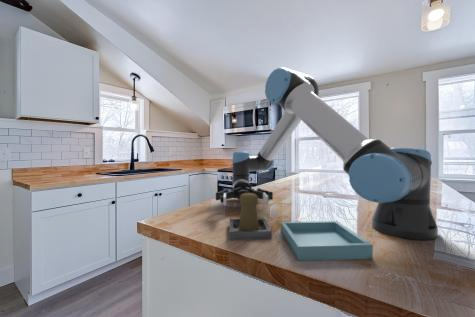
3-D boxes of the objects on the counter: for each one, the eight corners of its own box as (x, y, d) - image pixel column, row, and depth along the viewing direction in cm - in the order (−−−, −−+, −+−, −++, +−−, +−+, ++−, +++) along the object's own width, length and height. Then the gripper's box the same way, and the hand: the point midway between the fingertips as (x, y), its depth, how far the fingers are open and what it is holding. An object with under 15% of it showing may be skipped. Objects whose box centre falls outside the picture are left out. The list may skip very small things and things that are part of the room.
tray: (336, 231, 64) (336, 220, 64) (372, 258, 48) (372, 244, 48) (280, 232, 63) (280, 222, 63) (298, 260, 47) (298, 246, 47)
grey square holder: (264, 224, 70) (264, 218, 70) (271, 238, 59) (271, 231, 59) (229, 225, 69) (229, 219, 69) (229, 239, 58) (229, 232, 58)
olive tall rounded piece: (258, 236, 61) (258, 195, 60) (236, 234, 62) (236, 195, 61) (260, 228, 67) (260, 191, 66) (240, 227, 68) (240, 191, 67)
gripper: (272, 197, 94) (284, 212, 72) (212, 198, 93) (206, 213, 72) (272, 180, 93) (284, 189, 72) (211, 180, 92) (206, 190, 71)
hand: (245, 201), depth 72 cm, fingers open, 13 cm apart
